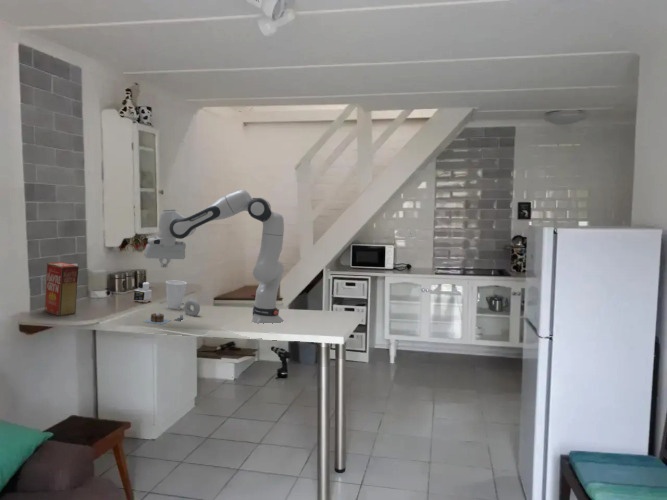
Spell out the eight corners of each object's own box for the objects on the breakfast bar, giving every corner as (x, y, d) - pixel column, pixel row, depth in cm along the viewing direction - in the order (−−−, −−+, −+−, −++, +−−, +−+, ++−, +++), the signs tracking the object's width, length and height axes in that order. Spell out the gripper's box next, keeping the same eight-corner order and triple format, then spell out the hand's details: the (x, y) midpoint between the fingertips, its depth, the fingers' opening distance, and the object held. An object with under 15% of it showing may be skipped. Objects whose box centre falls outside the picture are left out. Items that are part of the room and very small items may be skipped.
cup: (171, 312, 279) (173, 284, 278) (159, 307, 286) (161, 280, 285) (188, 310, 289) (191, 283, 287) (176, 305, 296) (179, 279, 294)
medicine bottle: (133, 301, 294) (135, 281, 293) (141, 299, 301) (142, 280, 300) (143, 303, 292) (145, 283, 291) (151, 301, 299) (152, 282, 298)
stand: (188, 321, 266) (189, 313, 265) (183, 323, 260) (184, 316, 259) (178, 319, 266) (178, 312, 266) (173, 322, 260) (173, 314, 260)
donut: (181, 315, 276) (183, 297, 275) (185, 314, 279) (187, 297, 278) (196, 318, 272) (198, 301, 272) (200, 317, 276) (202, 300, 275)
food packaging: (43, 310, 252) (46, 262, 250) (60, 308, 260) (63, 261, 258) (59, 316, 246) (62, 267, 244) (76, 313, 254) (80, 266, 252)
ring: (161, 318, 260) (162, 313, 259) (164, 321, 254) (164, 316, 254) (149, 319, 256) (150, 313, 256) (152, 322, 251) (152, 316, 251)
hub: (170, 322, 260) (171, 312, 259) (161, 326, 250) (162, 316, 249) (152, 319, 261) (153, 309, 260) (143, 323, 251) (143, 313, 250)
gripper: (183, 240, 262) (181, 266, 264) (144, 238, 250) (142, 265, 251) (188, 242, 257) (185, 268, 259) (148, 240, 245) (146, 267, 246)
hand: (164, 267), depth 255 cm, fingers closed
